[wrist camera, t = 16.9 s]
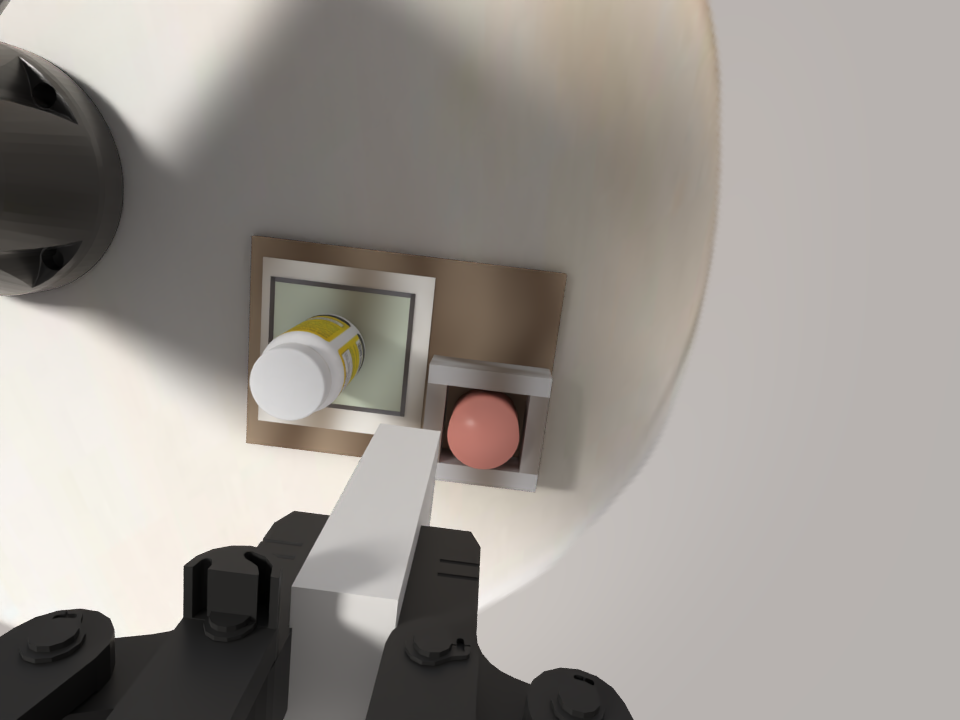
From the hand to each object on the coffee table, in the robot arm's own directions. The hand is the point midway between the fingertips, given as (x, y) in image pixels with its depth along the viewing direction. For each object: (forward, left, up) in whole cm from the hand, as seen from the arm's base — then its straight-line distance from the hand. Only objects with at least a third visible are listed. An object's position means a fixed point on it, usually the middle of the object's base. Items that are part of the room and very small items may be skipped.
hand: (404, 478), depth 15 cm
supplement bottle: (-8, -3, -25) cm, 26 cm away
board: (-4, -4, -25) cm, 26 cm away
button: (+2, -7, -24) cm, 25 cm away
